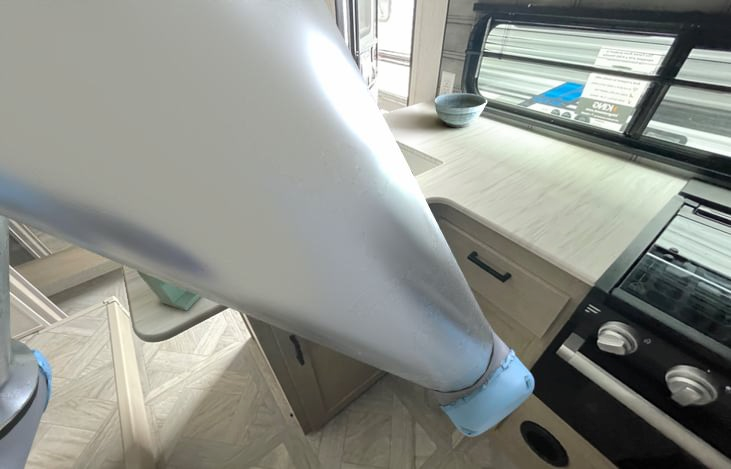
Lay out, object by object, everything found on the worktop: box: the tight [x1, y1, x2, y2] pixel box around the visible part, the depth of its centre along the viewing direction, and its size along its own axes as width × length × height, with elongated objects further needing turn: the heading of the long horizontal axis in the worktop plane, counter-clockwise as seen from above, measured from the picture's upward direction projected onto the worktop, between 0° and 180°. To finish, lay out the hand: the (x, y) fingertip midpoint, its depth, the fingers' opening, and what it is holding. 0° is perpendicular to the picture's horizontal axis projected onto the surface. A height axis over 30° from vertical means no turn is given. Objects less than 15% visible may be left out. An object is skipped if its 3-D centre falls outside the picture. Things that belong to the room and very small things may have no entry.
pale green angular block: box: [135, 270, 201, 312], centre depth 53 cm, size 6×10×15 cm, turn 161°
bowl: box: [433, 92, 488, 128], centre depth 120 cm, size 21×21×10 cm
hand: (201, 263), depth 50 cm, fingers closed
